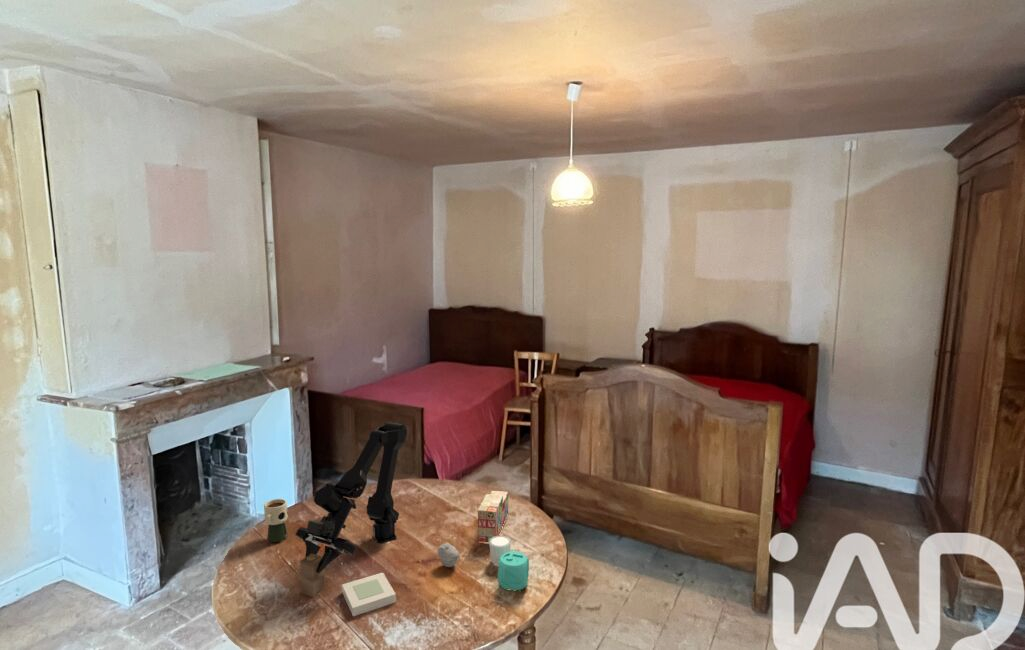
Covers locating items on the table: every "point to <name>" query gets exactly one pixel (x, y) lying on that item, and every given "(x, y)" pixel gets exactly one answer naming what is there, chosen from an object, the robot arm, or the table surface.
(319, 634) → the table surface
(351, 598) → the baseplate
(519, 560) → the teal lidded canister
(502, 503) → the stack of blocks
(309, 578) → the walnut pillar
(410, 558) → the table surface
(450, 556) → the grey rock
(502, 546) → the white cylinder
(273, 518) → the character mug
